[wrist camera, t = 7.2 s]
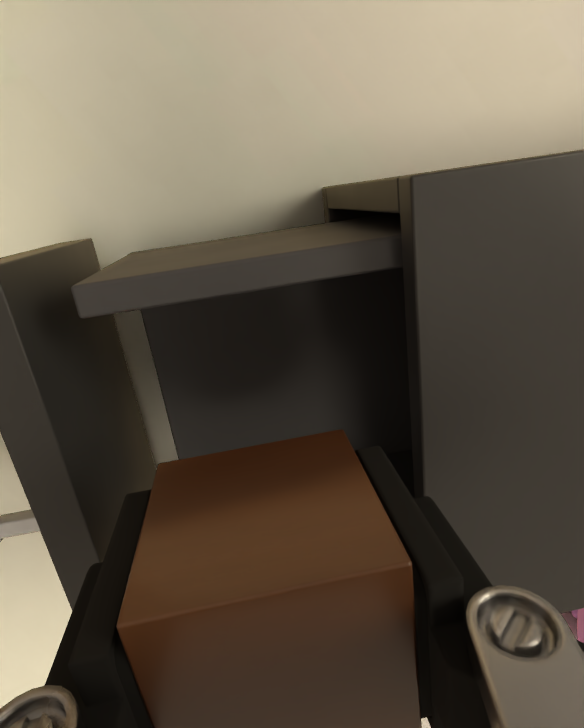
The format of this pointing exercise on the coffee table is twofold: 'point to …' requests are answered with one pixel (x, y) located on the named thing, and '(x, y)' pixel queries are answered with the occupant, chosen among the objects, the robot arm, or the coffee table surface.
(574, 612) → the teapot
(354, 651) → the block
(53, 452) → the pulled-out drawer
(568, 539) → the small drawer cabinet
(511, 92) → the coffee table surface
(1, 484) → the coffee table surface
